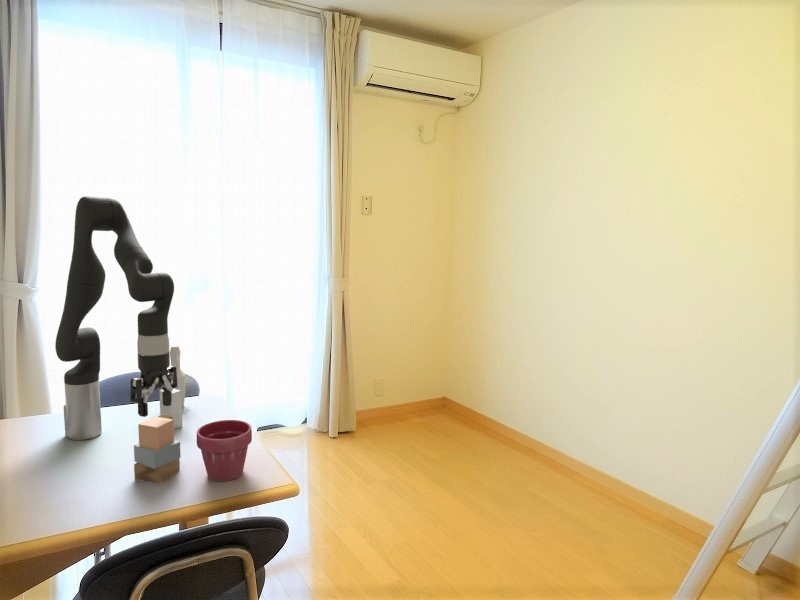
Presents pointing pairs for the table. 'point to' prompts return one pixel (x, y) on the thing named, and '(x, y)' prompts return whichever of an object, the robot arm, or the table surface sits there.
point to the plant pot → (224, 448)
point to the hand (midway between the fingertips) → (155, 410)
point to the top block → (157, 454)
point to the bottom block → (156, 472)
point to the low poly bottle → (178, 371)
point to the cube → (156, 432)
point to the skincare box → (173, 407)
